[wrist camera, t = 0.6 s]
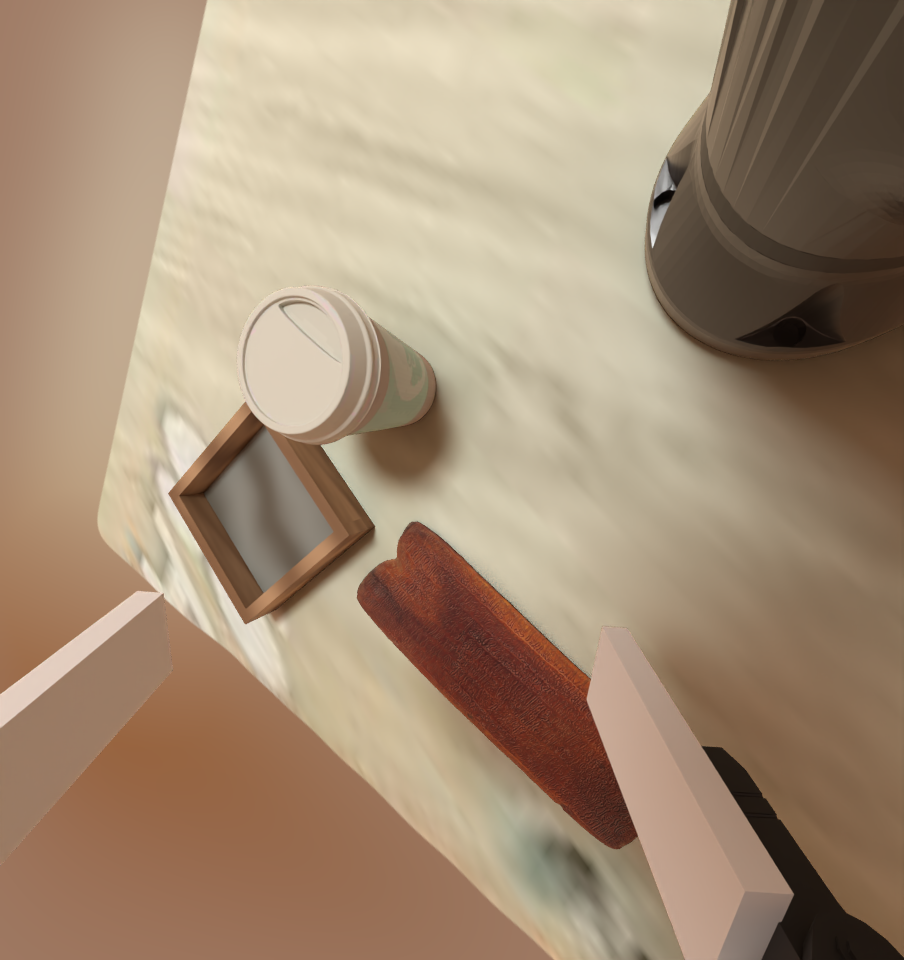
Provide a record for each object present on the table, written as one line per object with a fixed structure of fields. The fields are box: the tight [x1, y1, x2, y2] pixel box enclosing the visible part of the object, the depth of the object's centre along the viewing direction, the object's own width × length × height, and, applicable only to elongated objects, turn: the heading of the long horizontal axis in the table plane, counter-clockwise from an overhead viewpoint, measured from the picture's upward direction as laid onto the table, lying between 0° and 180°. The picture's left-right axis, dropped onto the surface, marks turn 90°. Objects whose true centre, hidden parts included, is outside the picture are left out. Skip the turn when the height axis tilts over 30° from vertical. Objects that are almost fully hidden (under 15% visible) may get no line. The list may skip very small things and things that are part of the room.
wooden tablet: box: [357, 522, 638, 849], centre depth 32 cm, size 27×10×2 cm, turn 51°
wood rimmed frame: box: [168, 402, 375, 624], centre depth 37 cm, size 14×14×4 cm
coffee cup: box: [237, 286, 436, 445], centre depth 28 cm, size 9×9×12 cm
